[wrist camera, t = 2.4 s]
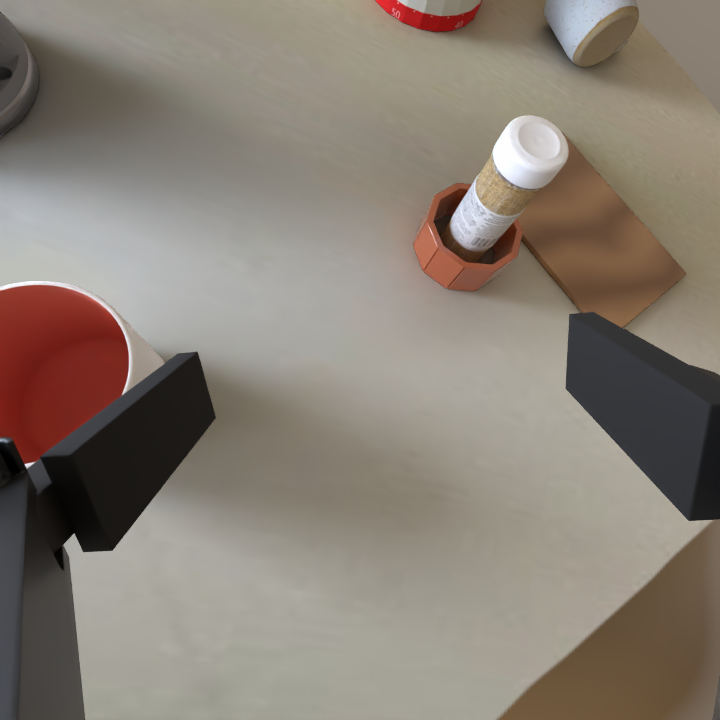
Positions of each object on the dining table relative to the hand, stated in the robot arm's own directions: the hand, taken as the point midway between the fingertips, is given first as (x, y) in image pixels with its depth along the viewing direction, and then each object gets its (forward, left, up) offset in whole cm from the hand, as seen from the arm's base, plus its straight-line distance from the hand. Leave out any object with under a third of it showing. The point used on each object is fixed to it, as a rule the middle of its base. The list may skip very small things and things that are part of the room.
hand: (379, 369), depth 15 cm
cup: (-11, -12, -19) cm, 25 cm away
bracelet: (-7, +20, -19) cm, 28 cm away
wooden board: (-2, +33, -19) cm, 38 cm away
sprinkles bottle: (-7, +20, -19) cm, 29 cm away
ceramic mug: (-21, +52, -19) cm, 59 cm away
